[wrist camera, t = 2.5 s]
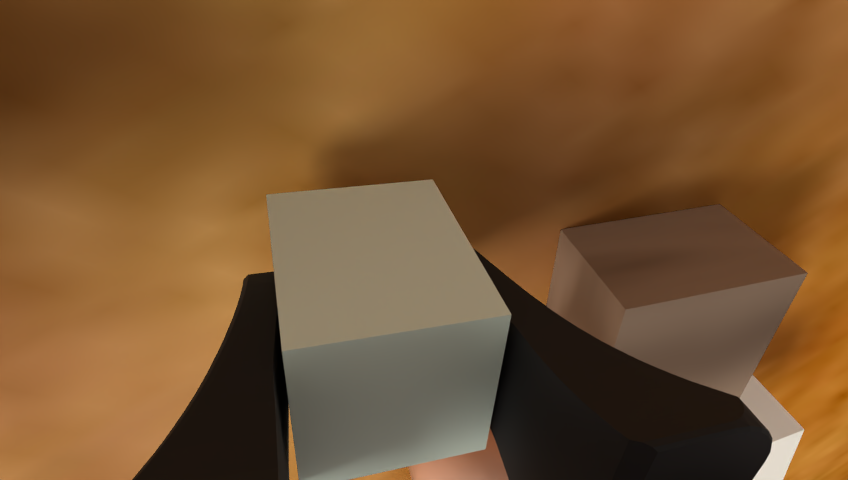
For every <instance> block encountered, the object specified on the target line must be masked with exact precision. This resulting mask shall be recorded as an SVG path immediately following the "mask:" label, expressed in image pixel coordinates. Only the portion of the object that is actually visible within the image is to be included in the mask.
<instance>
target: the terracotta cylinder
mask: <svg viewBox="0 0 848 480" xmlns="http://www.w3.org/2000/svg"><path fill="white" fill-rule="evenodd" d="M408 468H409V471H410V475H411V479H412V480H509V479H508V476H507V473H506V470H505V467H504V464H503V461H502V458H501V456H500V453H499V450H498V447H497V444H496V441H495V438H494V436H493V434H492V431H491V429H489V434H488V439H487V444H486V449H484V450H480V451H475V452H471V453H466V454H462V455H457V456H453V457H448V458H444V459H439V460H435V461H430V462H426V463H421V464H417V465H412V466H408Z"/></svg>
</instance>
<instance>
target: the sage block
mask: <svg viewBox="0 0 848 480" xmlns="http://www.w3.org/2000/svg"><path fill="white" fill-rule="evenodd" d="M266 197H267V207H268V217H269V227H270V237H271V248H272V258H273V268H274V278H275V288H276V298H277V308H278V318H279V328H280V338H281V348H282V356H283V364H284V371H285V379H286V386H287V394H288V401H289V409H290V416H291V424H292V431H293V439H294V446H295V454H296V461H297V469H298V476H299V480H349V479H354V478H358V477H363V476H367V475H372V474H376V473H381V472H385V471H390V470H394V469H399V468H403V467H408V466H412V465H417V464H421V463H426V462H430V461H435V460H439V459H444V458H448V457H453V456H457V455H462V454H466V453H471V452H475V451H480V450H484V449H486V444H487V439H488V434H489V429H490V424H491V418H492V413H493V408H494V403H495V398H496V392H497V387H498V382H499V377H500V372H501V366H502V361H503V356H504V351H505V346H506V341H507V335H508V330H509V325H510V320H511V313H510V311H509V309H508V308H507V306H506V304H505V303H504V301H503V299H502V297H501V296H500V294H499V292H498V291H497V289H496V287H495V285H494V284H493V282H492V280H491V279H490V277H489V275H488V273H487V272H486V270H485V268H484V267H483V265H482V263H481V261H480V260H479V258H478V256H477V255H476V253H475V251H474V249H473V248H472V246H471V244H470V242H469V241H468V239H467V237H466V236H465V234H464V232H463V230H462V229H461V227H460V225H459V224H458V222H457V220H456V218H455V217H454V215H453V213H452V212H451V210H450V208H449V206H448V205H447V203H446V201H445V200H444V198H443V196H442V194H441V193H440V191H439V189H438V188H437V186H436V184H435V182H434V181H433V179H431V180H420V181H409V182H398V183H387V184H376V185H365V186H354V187H343V188H332V189H321V190H310V191H299V192H288V193H277V194H266Z"/></svg>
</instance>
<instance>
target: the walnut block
mask: <svg viewBox="0 0 848 480" xmlns="http://www.w3.org/2000/svg"><path fill="white" fill-rule="evenodd" d="M806 275H807V272H806V271H805V270H803V269H802V268H801V267H799V266H798V265H797V264H796V263H794V262H793V261H792V260H790V259H789V258H788V257H787V256H785V255H784V254H783V253H782V252H780V251H779V250H778V249H776V248H775V247H774V246H773V245H771V244H770V243H769V242H767V241H766V240H765V239H764V238H762V237H761V236H760V235H759V234H757V233H756V232H755V231H753V230H752V229H751V228H750V227H748V226H747V225H746V224H745V223H743V222H742V221H741V220H739V219H738V218H737V217H736V216H734V215H733V214H732V213H730V212H729V211H728V210H727V209H725V208H724V207H723V206H722V205H720V204H717V205H711V206H704V207H698V208H692V209H686V210H679V211H673V212H667V213H661V214H654V215H648V216H642V217H636V218H629V219H623V220H617V221H611V222H604V223H598V224H592V225H586V226H579V227H573V228H567V229H561V232H560V237H559V242H558V247H557V253H556V258H555V263H554V268H553V274H552V279H551V284H550V290H549V295H548V300H547V305H546V306H547V307H548V308H550V309H551V310H552V311H554V312H555V313H557V314H558V315H560V316H561V317H563V318H564V319H566V320H567V321H569V322H570V323H572V324H573V325H575V326H577V327H578V328H580V329H582V330H583V331H585V332H587V333H589V334H590V335H592V336H594V337H595V338H597V339H599V340H601V341H603V342H604V343H606V344H608V345H610V346H612V347H614V348H616V349H618V350H620V351H622V352H624V353H626V354H628V355H630V356H632V357H634V358H636V359H638V360H641V361H643V362H645V363H647V364H650V365H652V366H654V367H657V368H659V369H661V370H664V371H666V372H669V373H671V374H674V375H676V376H679V377H681V378H684V379H687V380H689V381H692V382H695V383H698V384H701V385H704V386H707V387H710V388H713V389H716V390H719V391H722V392H725V393H728V394H731V395H734V396H737V397H739V398H740V396H741V395H742V393H743V391H744V389H745V387H746V385H747V384H748V382H749V380H750V378H751V376H752V374H753V373H754V371H755V369H756V367H757V365H758V363H759V362H760V360H761V358H762V356H763V354H764V352H765V350H766V349H767V347H768V345H769V343H770V341H771V339H772V338H773V336H774V334H775V332H776V330H777V328H778V327H779V325H780V323H781V321H782V319H783V317H784V316H785V314H786V312H787V310H788V308H789V306H790V305H791V303H792V301H793V299H794V297H795V295H796V294H797V292H798V290H799V288H800V286H801V284H802V283H803V281H804V279H805V277H806Z"/></svg>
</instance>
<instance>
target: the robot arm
mask: <svg viewBox="0 0 848 480" xmlns="http://www.w3.org/2000/svg"><path fill="white" fill-rule="evenodd" d="M474 251H475V253H476V255H477V256H478V258H479V260H480V261H481V263H482V265H483V267H484V268H485V270H486V272H487V273H488V275H489V277H490V279H491V280H492V282H493V284H494V285H495V287H496V289H497V291H498V292H499V294H500V296H501V297H502V299H503V301H504V303H505V304H506V306H507V308H508V309H509V311H510V313H511V320H510V325H509V330H508V335H507V341H506V346H505V351H504V356H503V361H502V366H501V372H500V377H499V382H498V387H497V392H496V398H495V403H494V408H493V413H492V418H491V424H490V429H491V431H492V434H493V436H494V438H495V441H496V444H497V447H498V450H499V453H500V456H501V458H502V461H503V464H504V467H505V470H506V473H507V476H508V479H509V480H753V478H754V477H755V476H756V474H757V473H758V471H759V470H760V468H761V467H762V465H763V464H764V463H765V461H766V459H767V457H768V456H769V454H770V452H771V446H772V439H773V438H772V436H771V434H770V432H769V430H768V429H767V428H766V427H765V426H764V425H763V424H762V423H761V422H760V420H759V419H758V418H757V417H756V416H755V415H754V414H753V413H752V411H751V410H750V409H749V408H748V407H747V406H746V405H745V404H744V403H743V401H742V400H741V399H740V398H739V397H737V396H734V395H731V394H728V393H725V392H722V391H719V390H716V389H713V388H710V387H707V386H704V385H701V384H698V383H695V382H692V381H689V380H687V379H684V378H681V377H679V376H676V375H674V374H671V373H669V372H666V371H664V370H661V369H659V368H657V367H654V366H652V365H650V364H647V363H645V362H643V361H641V360H638V359H636V358H634V357H632V356H630V355H628V354H626V353H624V352H622V351H620V350H618V349H616V348H614V347H612V346H610V345H608V344H606V343H604V342H603V341H601V340H599V339H597V338H595V337H594V336H592V335H590V334H589V333H587V332H585V331H583V330H582V329H580V328H578V327H577V326H575V325H573V324H572V323H570V322H569V321H567V320H566V319H564V318H563V317H561V316H560V315H558V314H557V313H555V312H554V311H552V310H551V309H550V308H548V307H547V306H545V305H544V304H542V303H541V302H540V301H538V300H537V299H536V298H534V297H533V296H532V295H530V294H529V293H528V292H526V291H525V290H524V289H522V288H521V287H520V286H519V285H517V284H516V283H515V282H514V281H512V280H511V279H510V278H509V277H507V276H506V275H505V274H504V273H503V272H501V271H500V270H499V269H498V268H496V267H495V266H494V265H493V264H492V263H490V262H489V261H488V260H487V259H486V258H484V257H483V256H482V255H481V254H480V253H478V252H477V251H476V250H475V249H474ZM132 480H289V401H288V394H287V386H286V379H285V371H284V364H283V356H282V348H281V338H280V328H279V318H278V308H277V298H276V288H275V278H274V272H267V273H258V274H250V275H248V276H247V277H246V278H245V279H244V281H243V287H242V291H241V295H240V298H239V302H238V305H237V308H236V310H235V313H234V316H233V319H232V321H231V323H230V326H229V328H228V331H227V333H226V335H225V338H224V340H223V342H222V345H221V347H220V349H219V351H218V353H217V355H216V357H215V359H214V361H213V363H212V365H211V367H210V369H209V371H208V373H207V374H206V376H205V378H204V380H203V382H202V383H201V385H200V387H199V389H198V390H197V392H196V394H195V395H194V397H193V398H192V400H191V402H190V403H189V405H188V406H187V408H186V410H185V411H184V413H183V414H182V415H181V417H180V418H179V420H178V421H177V423H176V424H175V426H174V427H173V428H172V430H171V431H170V433H169V434H168V436H167V437H166V438H165V440H164V441H163V442H162V444H161V445H160V446H159V448H158V449H157V450H156V452H155V453H154V454H153V455H152V456H151V458H150V459H149V460H148V461H147V463H146V464H145V465H144V466H143V467H142V469H141V470H140V471H139V472H138V473H137V475H136V476H135V477H134V478H133V479H132Z"/></svg>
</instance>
